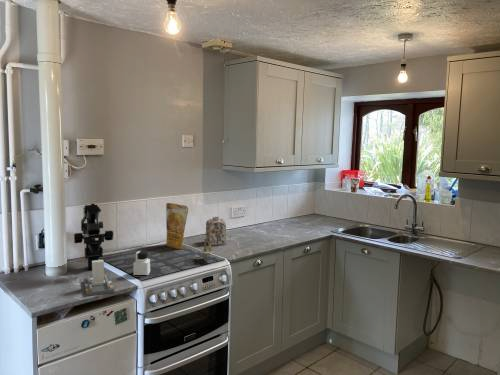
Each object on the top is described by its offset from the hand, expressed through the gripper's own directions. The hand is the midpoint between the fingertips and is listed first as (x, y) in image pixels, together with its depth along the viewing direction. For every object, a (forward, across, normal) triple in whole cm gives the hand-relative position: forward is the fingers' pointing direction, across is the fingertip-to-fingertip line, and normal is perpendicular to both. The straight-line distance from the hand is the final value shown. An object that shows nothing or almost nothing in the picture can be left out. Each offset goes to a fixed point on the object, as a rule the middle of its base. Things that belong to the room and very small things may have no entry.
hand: (95, 251), depth 205 cm
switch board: (+20, 0, -1) cm, 20 cm away
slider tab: (+19, 0, -2) cm, 19 cm away
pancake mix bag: (-20, +52, +39) cm, 68 cm away
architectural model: (+6, +62, +14) cm, 63 cm away
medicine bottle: (+13, +22, +7) cm, 26 cm away
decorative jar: (-19, +80, +38) cm, 91 cm away
